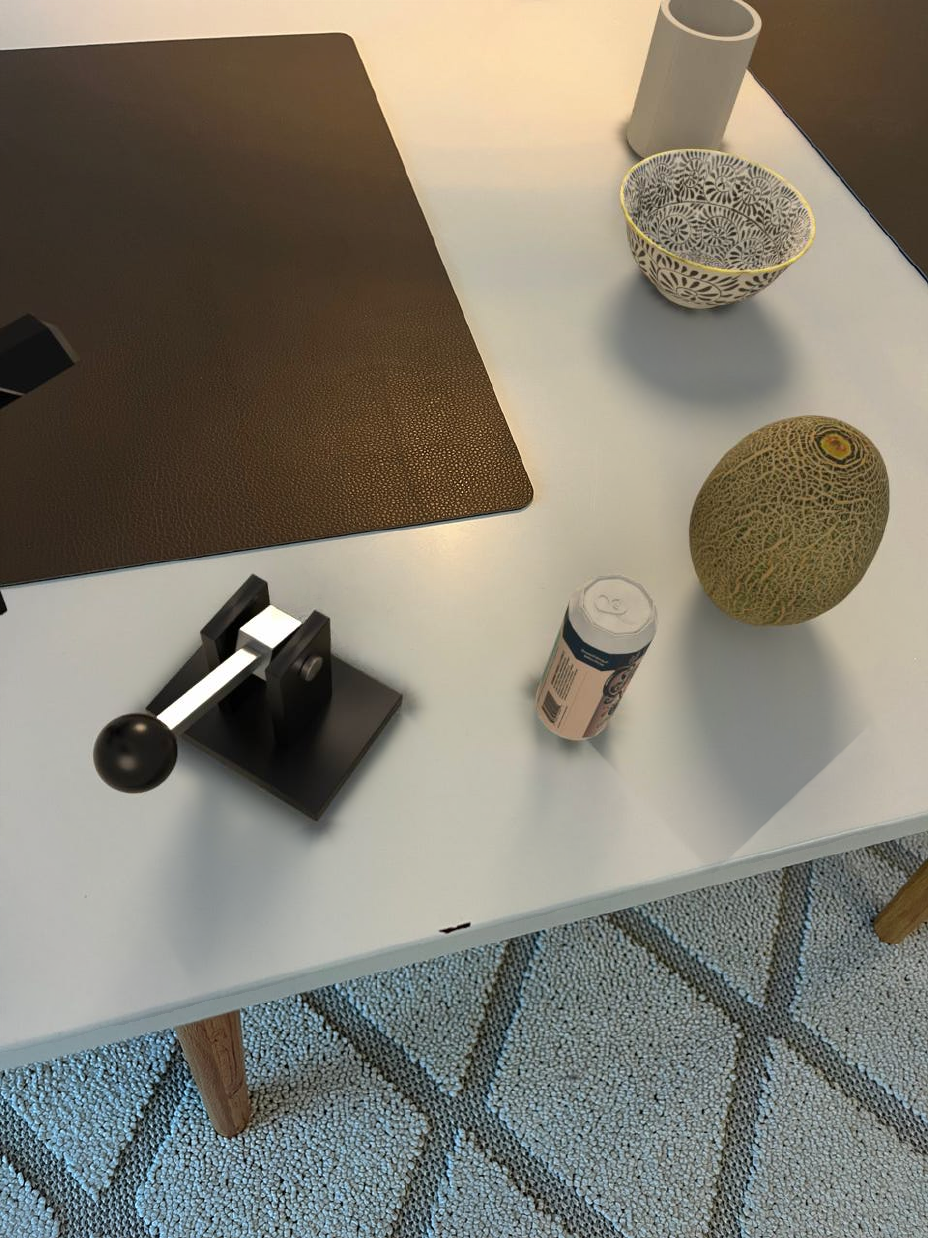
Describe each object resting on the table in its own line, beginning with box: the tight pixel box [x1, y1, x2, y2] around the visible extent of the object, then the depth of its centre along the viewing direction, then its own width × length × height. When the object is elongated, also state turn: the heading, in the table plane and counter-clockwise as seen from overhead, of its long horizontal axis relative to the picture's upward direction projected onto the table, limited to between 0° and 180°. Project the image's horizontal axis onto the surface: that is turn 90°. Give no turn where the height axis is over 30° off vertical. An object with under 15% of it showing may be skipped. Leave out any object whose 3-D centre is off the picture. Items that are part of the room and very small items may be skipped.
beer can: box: [534, 572, 659, 741], centre depth 54 cm, size 5×5×12 cm
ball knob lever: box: [92, 604, 304, 795], centre depth 46 cm, size 13×4×4 cm, turn 150°
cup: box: [626, 0, 763, 160], centre depth 89 cm, size 9×9×12 cm
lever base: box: [144, 573, 403, 823], centre depth 53 cm, size 9×12×10 cm
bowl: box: [619, 149, 816, 310], centre depth 79 cm, size 16×16×8 cm
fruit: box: [688, 414, 891, 627], centre depth 59 cm, size 11×11×15 cm
